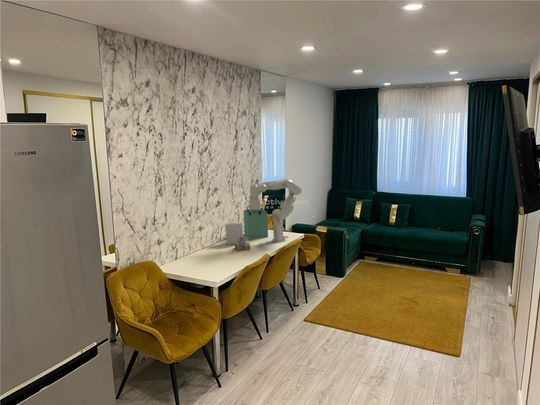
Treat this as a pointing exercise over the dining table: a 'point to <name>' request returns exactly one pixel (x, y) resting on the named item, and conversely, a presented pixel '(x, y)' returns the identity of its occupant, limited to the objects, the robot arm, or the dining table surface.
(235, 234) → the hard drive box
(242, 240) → the block
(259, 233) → the box
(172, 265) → the dining table surface
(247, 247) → the tray
